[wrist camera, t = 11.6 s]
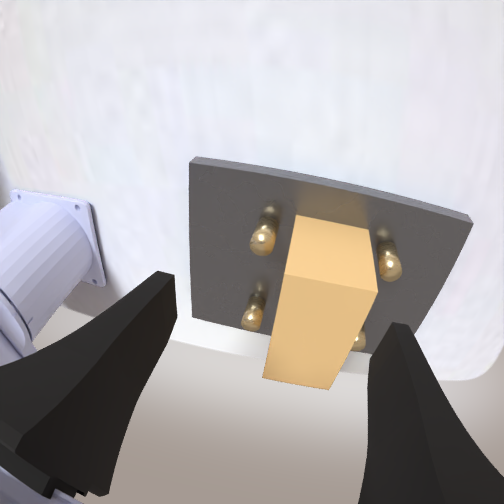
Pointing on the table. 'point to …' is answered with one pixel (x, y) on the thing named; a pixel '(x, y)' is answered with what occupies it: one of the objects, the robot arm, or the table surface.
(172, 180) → the table surface
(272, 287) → the chassis plate
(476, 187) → the table surface
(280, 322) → the ochre block
